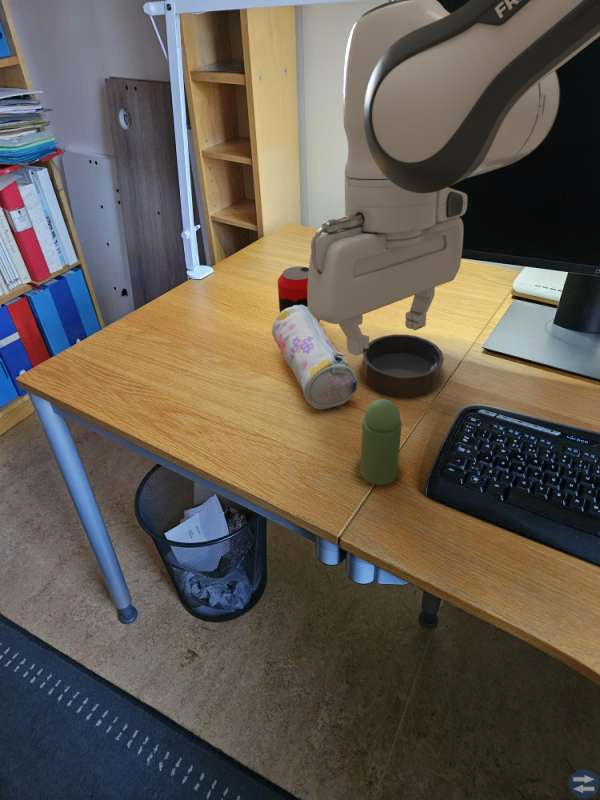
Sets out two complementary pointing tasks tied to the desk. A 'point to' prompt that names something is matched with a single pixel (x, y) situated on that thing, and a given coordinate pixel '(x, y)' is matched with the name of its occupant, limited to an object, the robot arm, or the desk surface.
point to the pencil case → (313, 358)
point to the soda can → (293, 287)
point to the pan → (402, 365)
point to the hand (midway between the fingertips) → (387, 339)
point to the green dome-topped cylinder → (380, 442)
